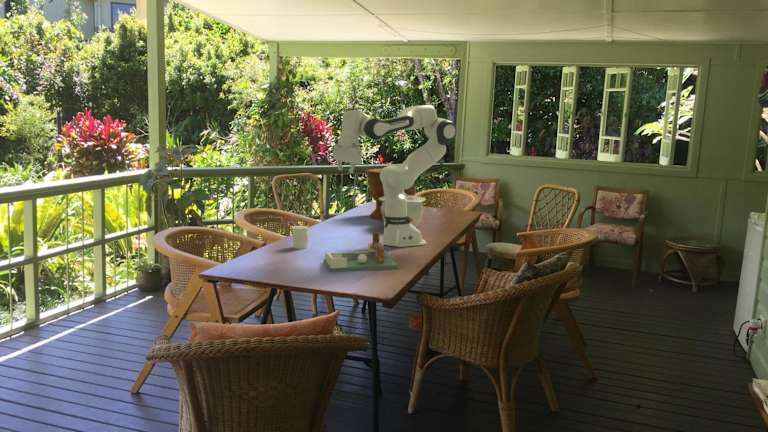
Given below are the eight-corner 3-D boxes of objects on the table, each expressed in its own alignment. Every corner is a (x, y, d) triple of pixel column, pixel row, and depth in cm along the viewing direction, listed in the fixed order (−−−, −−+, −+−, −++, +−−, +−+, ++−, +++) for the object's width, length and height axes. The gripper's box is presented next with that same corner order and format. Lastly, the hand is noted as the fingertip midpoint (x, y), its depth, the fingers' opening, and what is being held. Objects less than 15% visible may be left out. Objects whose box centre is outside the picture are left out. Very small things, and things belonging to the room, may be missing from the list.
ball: (365, 261, 271) (365, 252, 270) (367, 264, 267) (368, 254, 266) (356, 262, 270) (356, 253, 269) (358, 264, 266) (358, 255, 265)
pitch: (387, 259, 283) (387, 247, 282) (397, 268, 266) (397, 255, 265) (323, 262, 275) (323, 250, 274) (330, 271, 259) (330, 258, 258)
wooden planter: (376, 211, 421) (377, 167, 416) (426, 214, 408) (427, 169, 403) (355, 218, 389) (356, 171, 384) (409, 223, 377) (410, 174, 372)
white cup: (297, 249, 300) (297, 229, 298) (289, 247, 306) (289, 226, 304) (311, 247, 305) (311, 227, 303) (303, 245, 311) (303, 225, 309)
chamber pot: (426, 231, 349) (427, 195, 346) (377, 231, 350) (377, 194, 346) (424, 223, 377) (425, 189, 374) (378, 222, 377) (379, 188, 374)
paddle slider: (381, 255, 281) (381, 232, 279) (388, 262, 269) (389, 237, 267) (368, 256, 279) (368, 232, 278) (375, 262, 267) (375, 238, 265)
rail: (387, 257, 281) (387, 250, 280) (388, 257, 279) (388, 251, 279) (325, 259, 274) (325, 253, 273) (325, 260, 272) (325, 253, 272)
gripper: (366, 145, 289) (363, 175, 291) (343, 140, 305) (340, 168, 308) (355, 144, 286) (351, 174, 288) (332, 139, 302) (329, 168, 304)
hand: (345, 171), depth 298 cm, fingers open, 8 cm apart
